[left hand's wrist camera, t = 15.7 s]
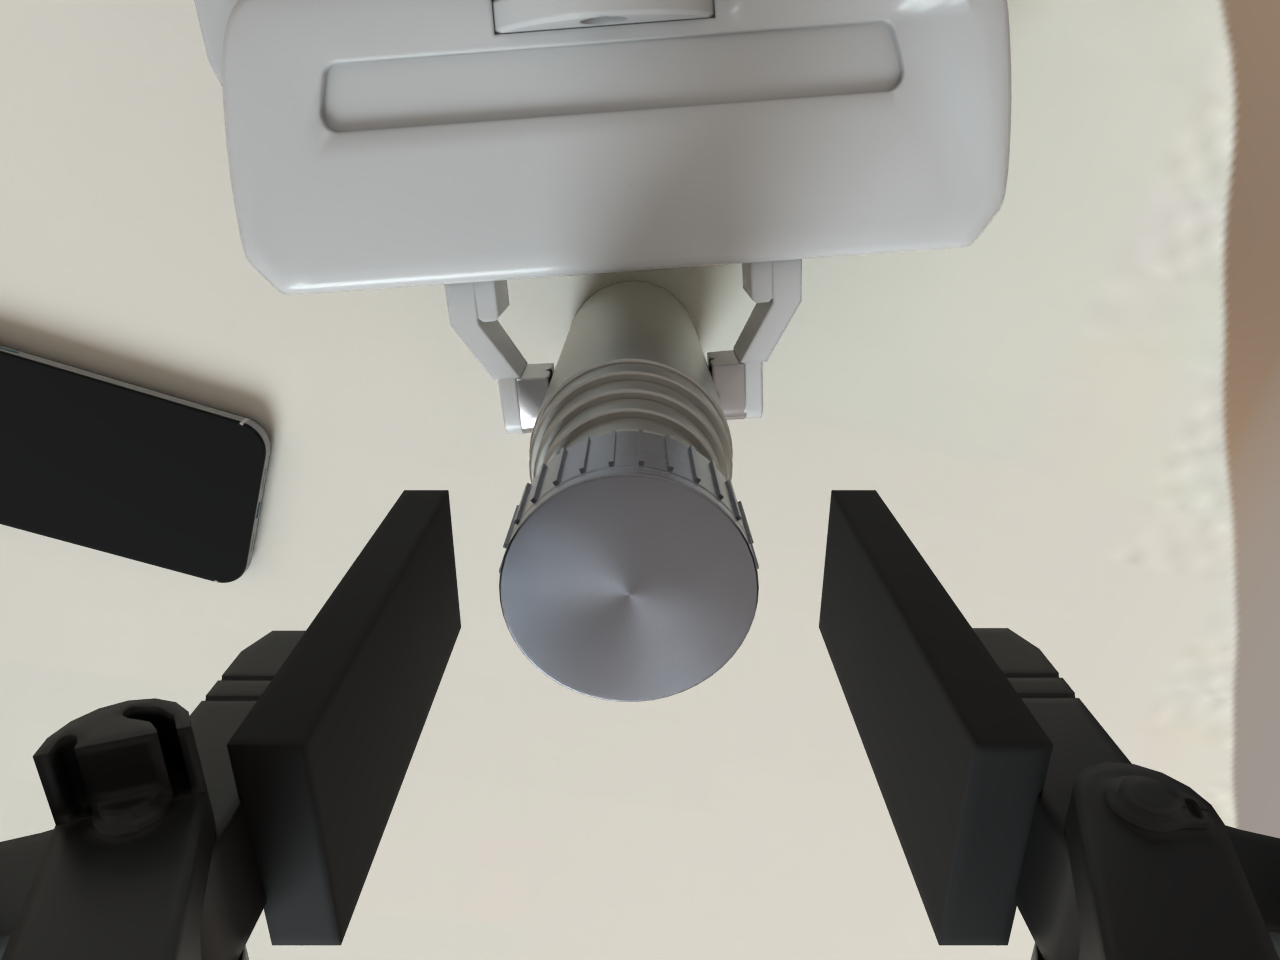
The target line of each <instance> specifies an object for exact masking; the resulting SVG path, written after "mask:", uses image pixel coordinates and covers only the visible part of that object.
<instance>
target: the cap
mask: <svg viewBox="0 0 1280 960" xmlns="http://www.w3.org/2000/svg"><path fill="white" fill-rule="evenodd" d="M752 543H754V542H753V539H752V536H751V533H750V529H749V526H748V523H747V519H746V516H745V513H744V509H743V506H742V503H741V501H739V502H737V499H736V496H735V493H734V489H733V486H732V483H731V481H730V479H729V480H726V479H725V478H724V476H723V475H722V474H721V472H720V471H719V470H718V469H717V467H716V463H715V462H714V461H713V460H712V461H711V462H710V461H709V460H708V459H707V458H705V457H704V456H703V455H701V454H700V453H699V452H697V451H696V450H695V447H694V446H692V445H690V446H687V445H685V444H684V443H681V442H679V441H676V440H674V439H672V438H670V435H667V434H666V435H665V436H662V435H658V434H654V433H647V432H643V430H642V429H639V431H621V432H616V430H611V433H606V434H601V435H597V436H593V437H589V436H586V437H585V438H584V440H583V441H580V442H578V443H576V444H574V445H572V446H570V447H568V448H567V449H566V448H565V447H563V448H562V449H561V450H560V453H559V454H558V455H556V456H555V457H554V458H552V459H551V460H550V461H549V462H548V463H547V464H546V465H545V464H544V463H543V464H542V465H541V467H540V470H539V473H538V474H537V475H536V477H535V478H534V479H533V481H532V482H531V484H529V483H527V485H526V487H525V490H524V493H523V496H522V499H521V502H520V505H517V507H516V510H515V513H514V516H513V519H512V522H511V525H510V528H509V531H508V534H507V537H506V540H505V543H504V546H503V548H506V551H505V554H504V557H503V560H502V563H501V566H500V569H499V573H500V582H499V591H500V602H501V607H502V612H503V616H504V619H505V621H506V624H507V627H508V629H509V631H510V633H511V635H512V637H513V639H514V641H515V642H516V644H517V645H518V647H519V648H520V649H521V651H522V652H523V654H524V655H525V656H526V657H527V658H528V659H529V660H530V661H531V662H532V663H533V664H534V666H536V667H537V668H538V669H539V670H540V671H542V672H543V673H544V674H545V675H546V676H548V677H550V678H551V679H553V680H554V681H556V682H557V683H559V684H561V685H563V686H565V687H567V688H569V689H571V690H573V691H576V692H578V693H581V694H584V695H587V696H590V697H595V698H599V699H604V700H611V701H620V702H638V701H647V700H655V699H659V698H664V697H668V696H671V695H674V694H677V693H680V692H683V691H685V690H687V689H689V688H692V687H694V686H696V685H698V684H699V683H701V682H702V681H704V680H706V679H707V678H709V677H710V676H712V675H713V674H714V673H715V672H717V671H718V670H719V669H720V668H722V667H723V666H724V665H725V664H726V663H727V662H728V661H729V659H730V658H731V657H732V656H733V655H734V654H735V652H736V651H737V650H738V648H739V647H740V646H741V644H742V643H743V641H744V639H745V637H746V635H747V633H748V632H749V630H750V627H751V624H752V622H753V619H754V616H755V612H756V607H757V603H758V590H759V584H758V572H757V569H759V567H758V562H757V558H756V555H755V552H754V548H753V545H752Z"/></svg>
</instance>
